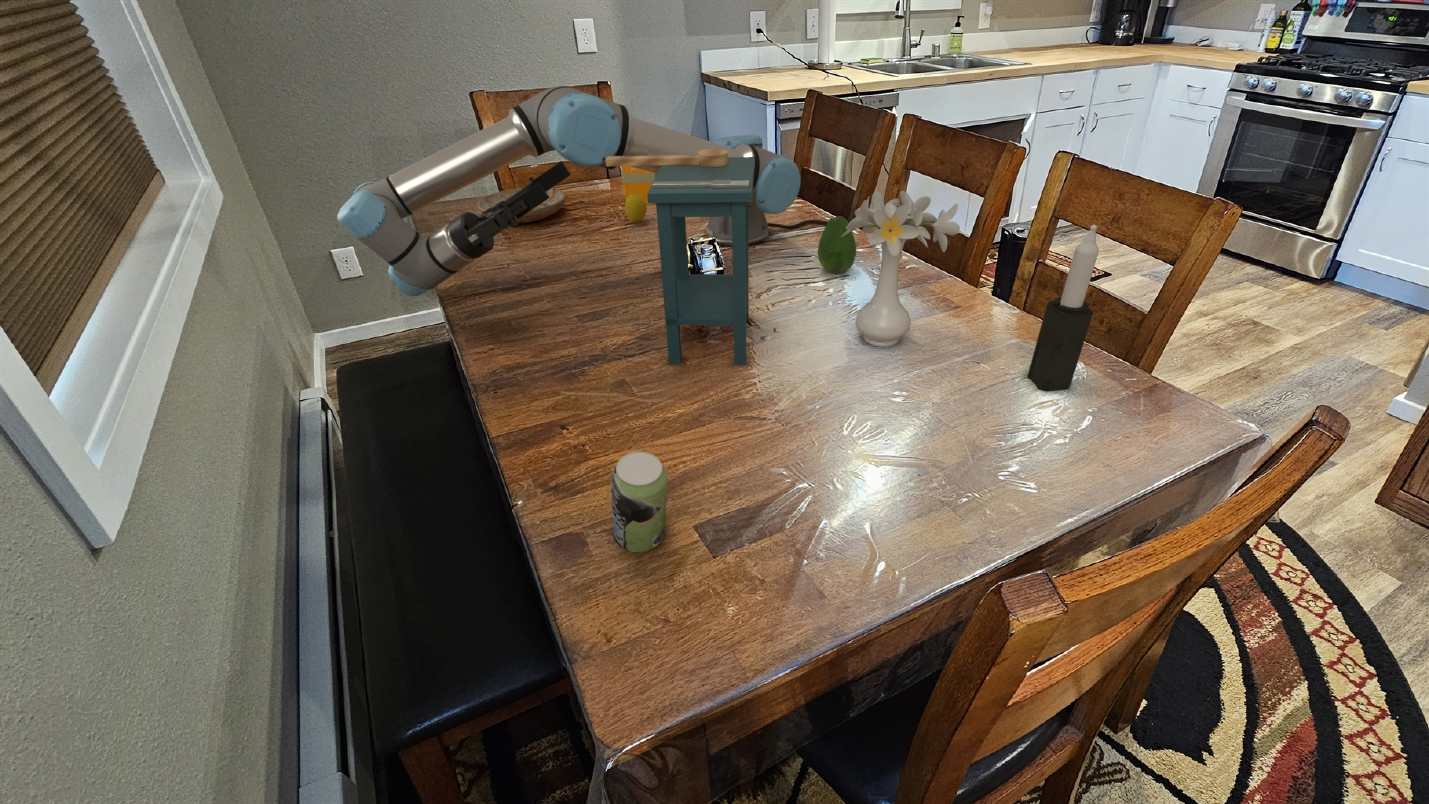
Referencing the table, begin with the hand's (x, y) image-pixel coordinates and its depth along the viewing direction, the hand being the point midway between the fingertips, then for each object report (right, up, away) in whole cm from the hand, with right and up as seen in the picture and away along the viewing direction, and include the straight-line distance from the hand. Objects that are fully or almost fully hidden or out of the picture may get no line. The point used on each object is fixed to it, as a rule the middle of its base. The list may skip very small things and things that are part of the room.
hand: (555, 178), depth 110 cm
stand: (+26, -26, +8) cm, 38 cm away
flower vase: (+56, -26, +7) cm, 62 cm away
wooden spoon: (+19, +1, -2) cm, 19 cm away
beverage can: (+18, -54, -32) cm, 65 cm away
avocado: (+52, -10, +32) cm, 62 cm away
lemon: (+6, +9, +62) cm, 63 cm away
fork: (+25, -6, -14) cm, 29 cm away
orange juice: (+6, +20, +79) cm, 82 cm away
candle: (+79, -34, -7) cm, 86 cm away
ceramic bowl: (-25, +13, +70) cm, 76 cm away
